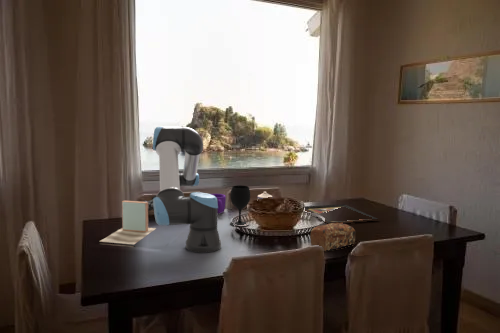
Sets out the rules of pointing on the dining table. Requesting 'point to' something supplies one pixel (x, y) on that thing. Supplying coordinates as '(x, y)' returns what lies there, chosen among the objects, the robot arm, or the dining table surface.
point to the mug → (220, 202)
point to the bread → (332, 235)
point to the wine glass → (240, 199)
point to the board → (126, 237)
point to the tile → (135, 216)
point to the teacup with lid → (264, 195)
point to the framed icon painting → (330, 208)
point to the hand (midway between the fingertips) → (141, 211)
